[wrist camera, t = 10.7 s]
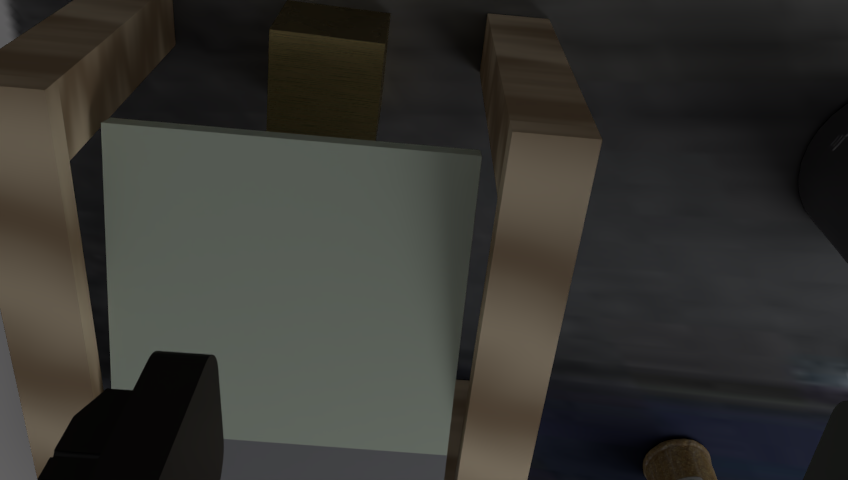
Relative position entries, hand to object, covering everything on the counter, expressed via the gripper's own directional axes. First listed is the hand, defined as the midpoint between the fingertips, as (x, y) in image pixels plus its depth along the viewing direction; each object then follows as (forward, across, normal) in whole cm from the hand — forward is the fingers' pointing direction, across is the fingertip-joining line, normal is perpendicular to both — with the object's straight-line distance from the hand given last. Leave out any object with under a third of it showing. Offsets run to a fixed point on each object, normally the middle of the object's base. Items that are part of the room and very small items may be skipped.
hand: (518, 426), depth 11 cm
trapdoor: (+21, +6, +15) cm, 27 cm away
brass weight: (+29, +6, +8) cm, 31 cm away
